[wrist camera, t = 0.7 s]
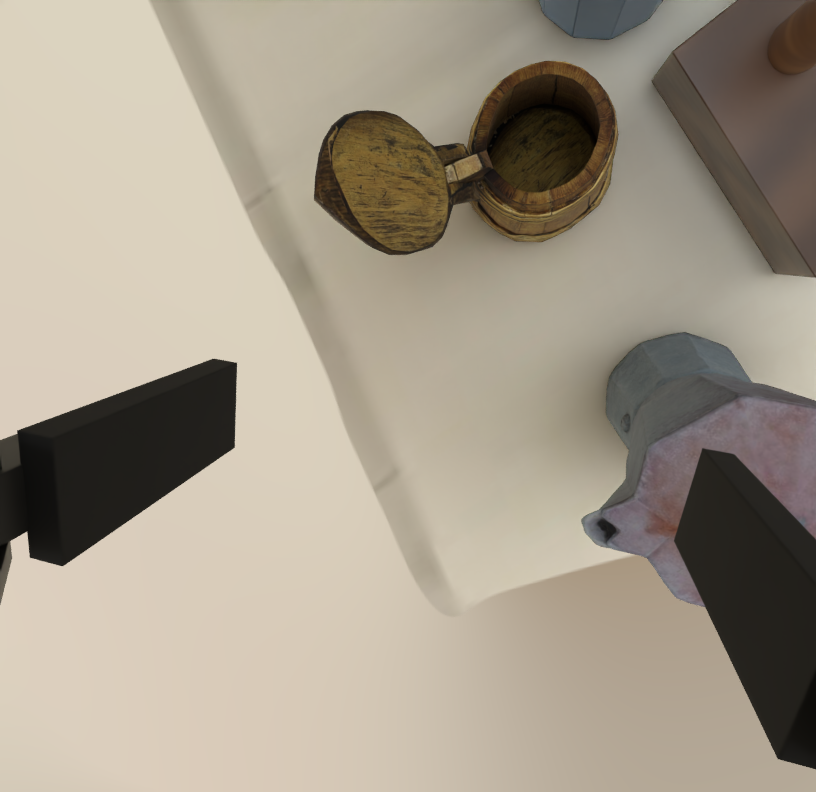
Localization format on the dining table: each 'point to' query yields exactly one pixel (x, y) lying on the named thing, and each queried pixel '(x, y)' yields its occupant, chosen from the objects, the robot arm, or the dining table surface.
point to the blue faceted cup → (598, 16)
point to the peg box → (755, 119)
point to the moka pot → (696, 445)
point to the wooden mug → (475, 164)
